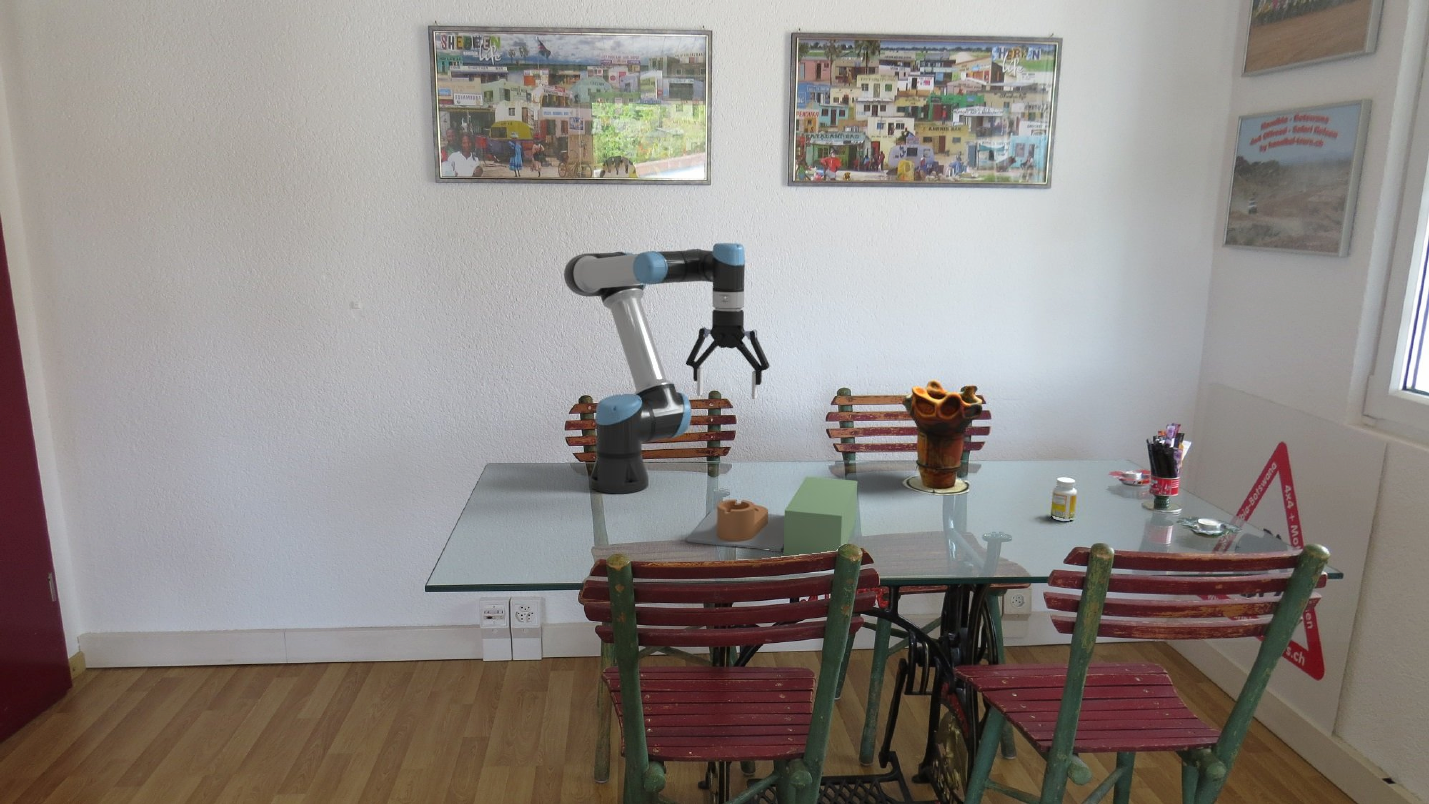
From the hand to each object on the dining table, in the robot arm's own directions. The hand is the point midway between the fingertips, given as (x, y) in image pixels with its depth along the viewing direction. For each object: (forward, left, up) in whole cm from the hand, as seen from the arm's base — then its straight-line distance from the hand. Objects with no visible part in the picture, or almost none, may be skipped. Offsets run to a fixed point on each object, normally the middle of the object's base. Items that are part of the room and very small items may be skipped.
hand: (727, 396), depth 233 cm
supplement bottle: (+80, +11, -27) cm, 85 cm away
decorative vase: (+50, +30, -27) cm, 64 cm away
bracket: (+9, -19, -26) cm, 34 cm away
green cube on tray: (+16, -19, -27) cm, 36 cm away
